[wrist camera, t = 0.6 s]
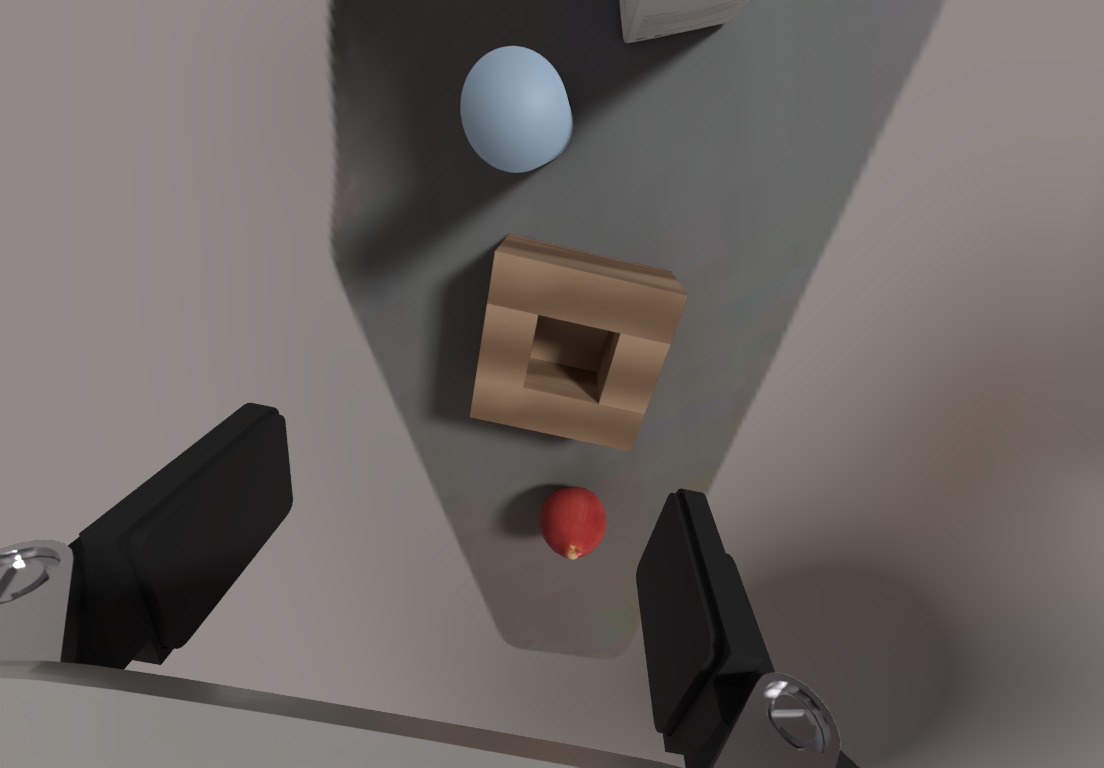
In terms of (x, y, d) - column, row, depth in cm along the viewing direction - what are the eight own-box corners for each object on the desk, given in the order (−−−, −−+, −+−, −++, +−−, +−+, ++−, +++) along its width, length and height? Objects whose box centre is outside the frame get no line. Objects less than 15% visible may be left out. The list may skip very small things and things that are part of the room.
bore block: (509, 233, 32) (495, 251, 27) (670, 271, 33) (688, 295, 28) (485, 379, 38) (469, 417, 32) (623, 409, 38) (630, 451, 33)
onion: (596, 519, 44) (599, 589, 37) (538, 509, 44) (531, 578, 37) (610, 473, 42) (616, 540, 35) (549, 462, 42) (542, 527, 34)
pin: (517, 82, 28) (467, 33, 16) (580, 98, 28) (579, 61, 16) (506, 153, 30) (454, 159, 17) (565, 167, 30) (555, 183, 18)
